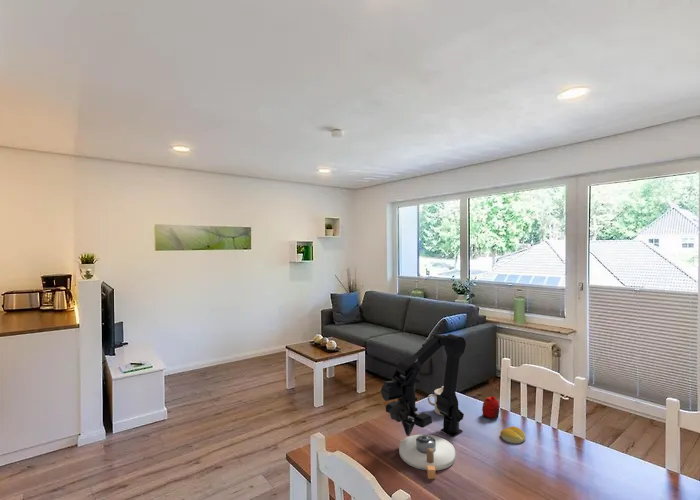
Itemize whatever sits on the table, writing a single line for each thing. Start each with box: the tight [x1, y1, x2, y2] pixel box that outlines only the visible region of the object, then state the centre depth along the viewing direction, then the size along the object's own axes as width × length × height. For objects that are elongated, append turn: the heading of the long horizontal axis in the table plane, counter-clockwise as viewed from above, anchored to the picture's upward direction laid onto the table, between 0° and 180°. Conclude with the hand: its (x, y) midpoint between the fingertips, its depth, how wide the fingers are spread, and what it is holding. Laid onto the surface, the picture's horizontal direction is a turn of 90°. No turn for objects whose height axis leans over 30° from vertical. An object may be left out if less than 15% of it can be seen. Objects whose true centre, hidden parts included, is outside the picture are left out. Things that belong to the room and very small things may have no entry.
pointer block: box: [426, 465, 437, 480], centre depth 124 cm, size 2×2×3 cm
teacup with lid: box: [427, 385, 444, 417], centre depth 171 cm, size 12×9×12 cm
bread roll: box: [500, 425, 526, 444], centre depth 147 cm, size 8×9×4 cm
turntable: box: [398, 433, 456, 471], centre depth 136 cm, size 20×20×6 cm
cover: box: [416, 434, 436, 454], centre depth 136 cm, size 7×7×4 cm
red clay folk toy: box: [481, 384, 500, 420], centre depth 165 cm, size 8×7×15 cm
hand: (408, 435), depth 143 cm, fingers closed
